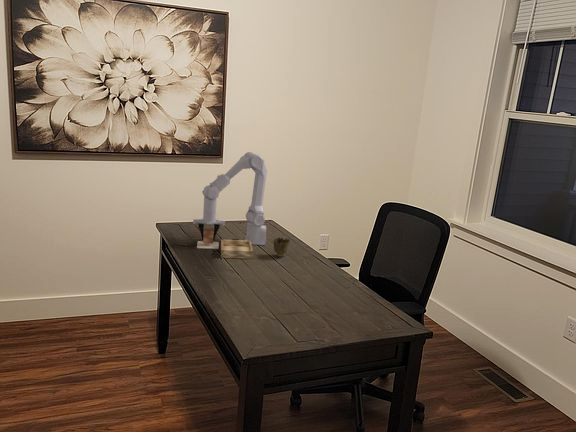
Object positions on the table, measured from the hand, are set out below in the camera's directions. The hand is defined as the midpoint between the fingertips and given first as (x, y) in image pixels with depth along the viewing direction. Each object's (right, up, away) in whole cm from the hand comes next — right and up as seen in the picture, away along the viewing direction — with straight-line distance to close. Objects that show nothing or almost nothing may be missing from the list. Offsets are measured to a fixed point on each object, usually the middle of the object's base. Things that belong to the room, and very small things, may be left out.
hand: (208, 239), depth 248 cm
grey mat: (0, -3, +1) cm, 3 cm away
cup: (+34, -8, -6) cm, 35 cm away
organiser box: (+14, -6, -6) cm, 16 cm away
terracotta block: (0, -1, 0) cm, 1 cm away
